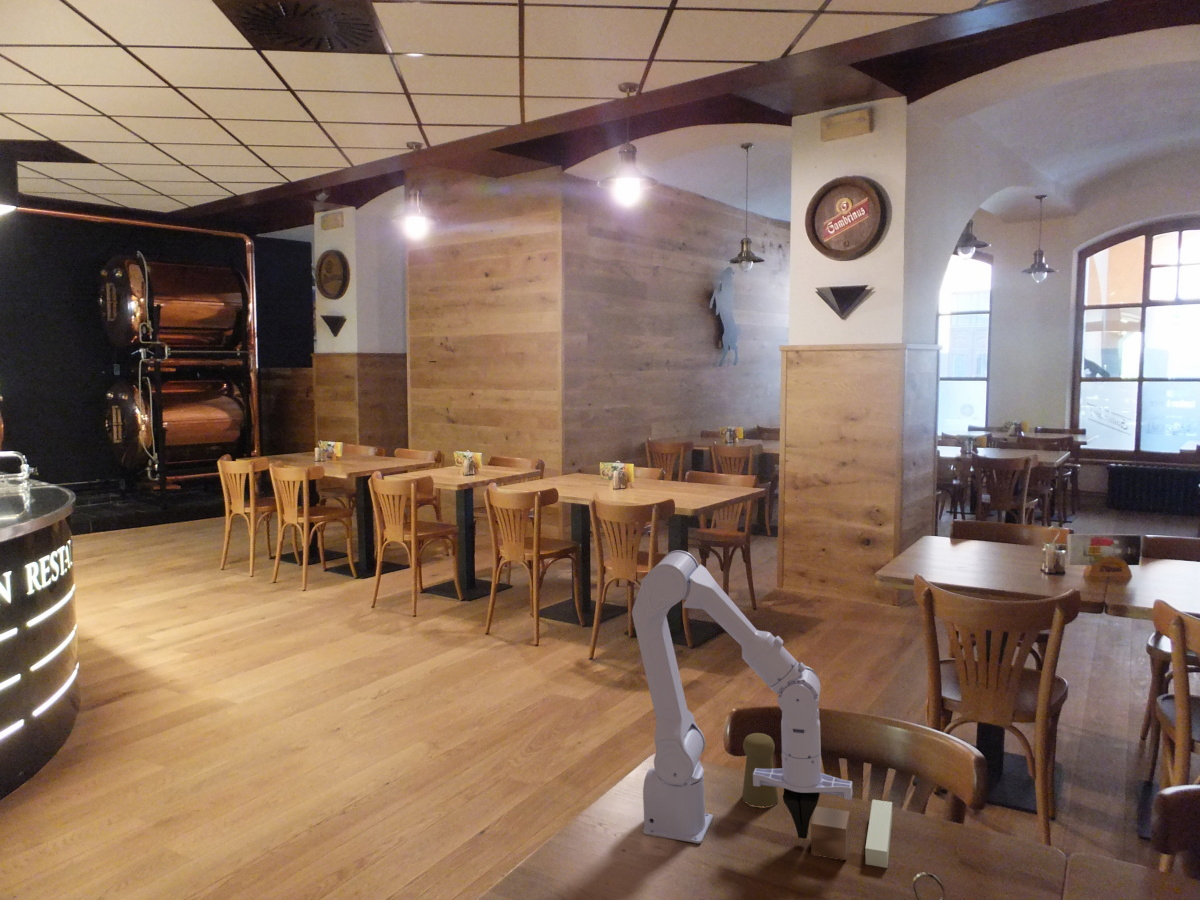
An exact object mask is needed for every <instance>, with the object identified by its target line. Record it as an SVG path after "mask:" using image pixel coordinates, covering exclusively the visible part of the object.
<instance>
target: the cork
mask: <svg viewBox="0 0 1200 900" xmlns="http://www.w3.org/2000/svg"><path fill="white" fill-rule="evenodd" d="M775 747H776V745H775V742H774V740H773V738H772V737H771V736H770V735H767V733H761V732H753V733H750V734H747V735H746V736H745V737H744V739H743V744H742V748H743V753H744V755H746V759H745V760H746V761H745V768H744V775H743V787H742V794H741V796H742V797H743V799H742V801H743V800H744V801H745V802H747V803H748V804H750V805H754V806H761V807H762V806H764V807H766V806H771V805H774V804H776V803H777V801H778V799H779V794H778V793H779V792H778V787H774V786H767V785H761V786H753V773H754V770H755V768H758V769H775V767H774V764H773V759H772V758H773V756H774V754H775V751H776V749H775ZM744 801H743V802H744ZM778 802H779V801H778ZM777 804H778V803H777ZM777 804H776V805H777Z"/></svg>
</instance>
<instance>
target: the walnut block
mask: <svg viewBox="0 0 1200 900" xmlns="http://www.w3.org/2000/svg"><path fill="white" fill-rule="evenodd" d="M811 818H812V819H811V823H810V837H811V838H810V843H811V844H810V846H811V848H810V849H811V855H812V854H815V855H821V856H826V857H833V858H838V859H843V860H846V859H847V860H848V855H849V850H848V849H850V845H849V844H851V826H850V825H851V822H850V821H851V820H850V818H851V816H850V810H849V811H848V810H841V809H837V808H831V807H823V806H818V805H816V808H815V809H814V811H813V813H812V817H811ZM847 854H848V855H847ZM815 855H814V856H815ZM826 857H825V858H826ZM847 860H846V861H847Z"/></svg>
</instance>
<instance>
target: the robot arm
mask: <svg viewBox="0 0 1200 900" xmlns="http://www.w3.org/2000/svg"><path fill="white" fill-rule="evenodd" d="M682 600H685V601H684V603H683V605H682V608H685V609H698V610H703V611H705V612H706V614H708V615H709V616H710V617H711V618H712V619H713V620H714V621H715V622H716V623H717V624H718V625H719V626H720V627H721V628H722V629H723V630H724V631H725V632H726V633H728V634H729V636H731V637H732V638H733V639H734V640H735V641H736V642H737V643H738V644H739V645H740V646H741V658H742V660H744V662H745V663H746V664H747V665H748V666H749V667H750V668H751V669H752V671H754V672H755V673H756V675H758V677H759V678H760V679H761V680H762V681H763V683H765V685H767V687H769V688H770V690H771V691H772V692H774V693H776V694H777V695H778V697H777V698H776V701H777V704H778V707H779V709H780V710H781V721H780V729H781V731H780V732H781V733H780V735H781V767H782V768H781V767H780V768H774V769H758V768H755V770H754V773H753V786H761V785H767V786H774V787H777V788H782V789H783V794H782V799H783V800H782V801H783V802H784V805H785V807H786V808H787V809H788V811H789V813H790V815H791V817H792V820H793V822H794V823H793V824H794V826H795V829H796V833H797V838H799V839H804V840H807V838H808V835H809V825H810V820H811V818H812V817H813V814H814V811H815V808H816V806H818V803H819V800H820V799H819V798H820V795H821V794H822V795H831V796H837V797H843V799H844V800H849V801H851V800H852V798H853V781H852V780H846V779H843V778H842V779H841V778H839V777H835V776H832V775H829V774H827V773H826V774H825V773H823V772H822V751H821V750H822V749H821V746H822V745H821V744H822V743H821V721H820V710H819V704H820V701H819V700H820V695H821V689H822V688H821V686H822V685H821V681H820V679H819V676H818V675H817V674H816V671H815V670H814V669H813V668H812V667H809V666H808V665H805V664H804V663H803V662H802V661H801V662H798V660H796V658H795V657H794V656H793V655H792V654H791V653H790V652H789V651H788V650H787V649H786V648H785V646H783V644H784V640H783V639H782V638H781V637H780V636H779V635H777V636H774V635H773V634H772V632H769V631H765V630H758V629H757V628H756V627H755V626H754V625H753V624H752V622H751V621H750V620H749V619H748V618H747V617H746V615H745V614H744V613H743V612H742V611H741V610H740V608H739V607H738V606H737V605H736V604H735V603H734V602H733V600H732V599H731V598H730V597H729V596H728V594H727V593H726V592H725V591H724V590H723V588H721V586H720V585H719V584H718V582H716V580H715V579H714V577H713V576H712V575H711V573H710V571H708V569H707V568H706V567H705V566H704V565H703V564H701V563H700V564H699V562H698V561H697V559H696V558H695V557H694V555H692V554H691V553H690V552H688V551H685V550H680V549H677V550H673V551H670V552H668V553H667V554H666V555H665V556H664V557H663V558H662V559H661V560H660V561H659V562H658V563H657V564H656V565H655V566H654V567H652V568H651V569H650V570H649V572H648V573H647V574H645V576H644V577H643V578H642V580H641V581H640V588H639V590H638V592H637V595H636V598H635V601H634V604H633V607H632V610H631V614H632V615H631V616H632V621H633V624H634V629H635V633H636V638H637V641H638V646H639V650H640V651H639V652H640V655H641V659H642V663H643V668H644V672H645V678H646V681H647V685H648V690H649V694H650V698H651V699H650V700H651V703H652V708H653V711H654V715H655V720H656V722H655V731H654V744H655V755H654V759H653V766H654V768H651V767H650V768H649V769H648V770H647V772H646V774H645V777H644V782H643V789H642V790H643V791H642V800H643V801H642V802H643V822H644V824H643V825H644V828H643V830H642V832H643V834H644V835H647V836H655V837H659V838H665V839H669V840H670V839H672V840H675V841H676V840H677V841H683V842H688V843H695V844H701V843H703V840H704V838H705V836H706V834H707V832H708V830H709V828H710V826H711V824H712V823H711V822H712V821H713V819H714V815H713V814H711V813H706V802H705V799H706V798H705V797H706V796H705V776H704V775H705V773H704V772H705V770H704V768H703V765H702V764H701V761H700V757H701V755H702V754H703V753H704V751H705V747H706V738H705V735H704V732H703V731H702V730H701V729H700V728H699V726H698V724H697V723H696V720H695V717H694V716H695V715H694V714H693V713H692V712H691V711H690V710H689V709H688V704H687V702H686V696H685V693H684V692H685V691H684V689H683V687H684V686H683V683H682V679H681V675H680V671H679V666H678V661H677V657H676V652H675V648H674V644H673V640H672V636H671V630H670V626H669V622H668V617H667V615H668V612H669V611H670V609H671V608H672V607H673V606H675V605H677V604H678V603H680V602H681V601H682Z"/></svg>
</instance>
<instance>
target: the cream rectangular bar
mask: <svg viewBox="0 0 1200 900" xmlns="http://www.w3.org/2000/svg"><path fill="white" fill-rule="evenodd" d="M870 806H871V807H870V813H869V814H870V815H869V822H868V829H867V834H866V840H865V841H866V843H865V851H864V852H865V854H864V855H865V865H868V866H874V867H879V868H885V869H888V867H889V866H888V864H889V855H890V844H891V834H892V825H893V802H892V801H885V800H879V799H872V800H871V805H870Z"/></svg>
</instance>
